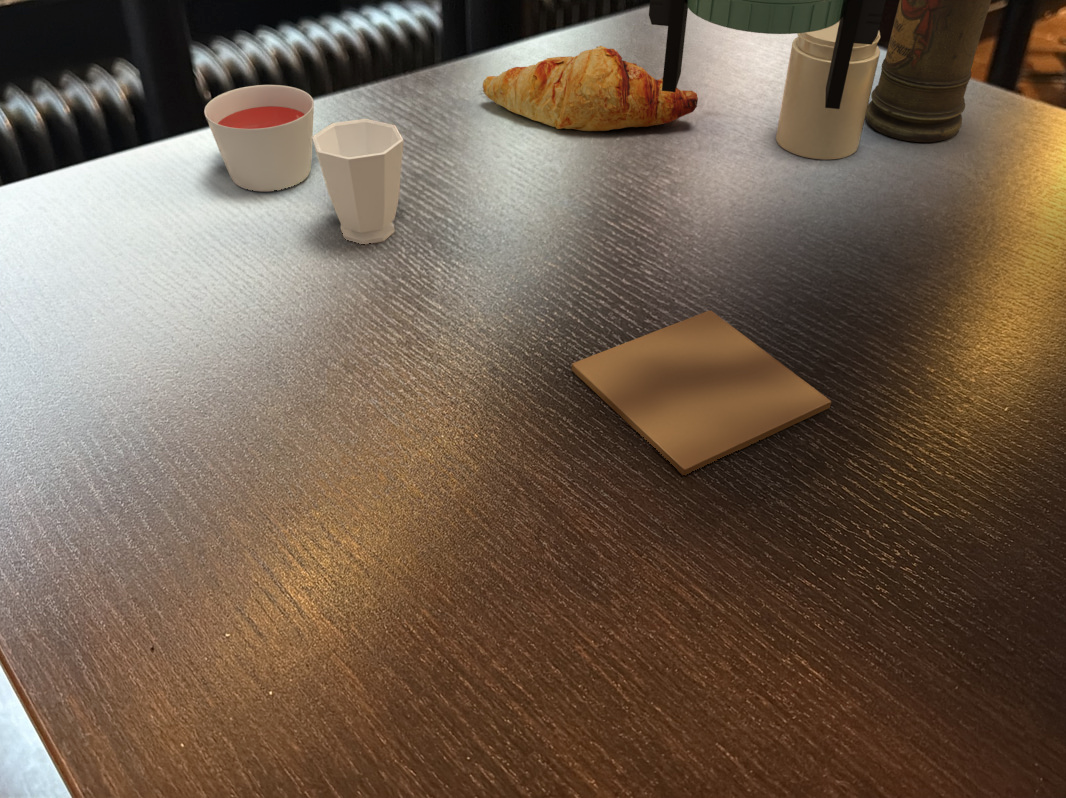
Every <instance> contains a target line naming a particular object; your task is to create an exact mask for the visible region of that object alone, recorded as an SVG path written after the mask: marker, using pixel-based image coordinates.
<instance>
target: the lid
mask: <svg viewBox="0 0 1066 798" xmlns="http://www.w3.org/2000/svg"><path fill="white" fill-rule="evenodd" d="M686 3H687V7H688V10H689V11H690V12H691V13H692V14H694V15H695V16H696V17H698V18H700V19H701V20H704V21H705V22H708V23H711V24H714V25H716V26H720V27H723V28H727V29H732V30H735V31H742V32H746V33H755V34H766V35H793V34H794V35H795V34H798V33H806V32H812V31H818V30H821V29H825V28H828V27H830V26H832V25H834V24H836V23H837V22H839V21H840V20H841V18H842V17H843V15H844V10H845V5H846V0H686Z"/></svg>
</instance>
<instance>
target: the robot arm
mask: <svg viewBox="0 0 1066 798" xmlns="http://www.w3.org/2000/svg"><path fill="white" fill-rule="evenodd" d="M886 2H887V1H886V0H846V5H845V10H844V15H843V17H842V18H841V20H840V22H839V26H838V31H837V36H836V41H835V46H834V51H833V56H832V60H831V65H830V70H829V75H828V80H827V85H826V97H825V108H832V109H840V104H841V100H842V95H843V90H844V86H845V81H846V77H847V72H848V67H849V63H850V58H851V54H852V49H853V45H854V43H858V44H869V45H872V43H873V42H874V40H875V39H876V37H877V36H878V32H879V31H880V26H881V23H882V19H883V14H884V10H885V5H886ZM688 11H689V8H688V7H687V3H686V0H649V6H648V17H649V22H650V24H651V25H652V26H661V27H667V33H666V43H665V53H664V64H663V72H662V79H663V82H662V91H669V92H675V91H676V88H678V84H679V81H680V78H681V75H682V65H683V58H684V57H683V56H684V47H685V38H686V29H687V21H688Z"/></svg>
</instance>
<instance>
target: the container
mask: <svg viewBox="0 0 1066 798" xmlns="http://www.w3.org/2000/svg"><path fill="white" fill-rule="evenodd" d="M991 2H992V0H899V1H898V4H897V5H898V6H897V9H896V14H895V17H894V22H893V26H892V30H891V34H890V39H889V41H888V46H887V49H886V54H885V57H884V59H883V61H882V63H881V71H880V76H879V80H878V82H877V85H876V86H875V87H874V89H873V90H871V94H870V99H871V101H869V103H868V107H867V111H866V116H865V120H866V122H867V123H868V125H869V126H870V127H871V128H872V129H874V131H877V132H878V133H880V134H882V135H884V136H887V137H890V138H893V139H898V140H901V141H905V142H906V141H907V142H915V143H933V142H941V141H945V140H948V139H951V138H953V137H954V136H955V135H956V134H957V133H958V131H959V130H960V129H961V126H962V123H963V116H962V114H963V112H964V111H965V109H966V102H965V101H966V99H965V95H966V91H967V88H968V85H969V84H968V83H970V81H971V79H972V68H973V65H974V60H975V57H976V52H977V49H978V46H979V42H980V39H981V36H982V32H983V30H984V26H985V23H986V19H987V16H988V12H989V8H990V6H991Z"/></svg>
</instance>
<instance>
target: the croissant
mask: <svg viewBox="0 0 1066 798" xmlns="http://www.w3.org/2000/svg"><path fill="white" fill-rule="evenodd" d="M662 82H663V78H659V79H656V78H655V77H653V76H652V75H650V74H649V73H648V71H647V70H646V69H644V68H643V67H642V66H639V65H638V64H637V63H634V62H628V61H626V60H623V57H622V55H620V54H619V52H618V50H616V49H614V48H608V47H605V46H603V45H599V46H596V48H592V49H586V50H583V51H580V53H578V55H575V56H555V57H546V58H545V59H543V60H540V61H538V62H537V63H535V64H531V65H528V66H513V67H511V68H509V69H507V70H505V71H502V72H501V73H499V75H497V76H495V75H491V76H490V75H489V76H486V78H484V79H483V82H482V89H483V90H482V92H483V94H484V95H485V96H486V97H487V99H489V100H492V101H493V102H494V103H495V104H497V105H499V106H501V107H503V108H504V109H506V110H507V111H508V112H512V113H513V114H515V115H520V116H522V117H525V118H527V119H530V120H532V121H534V122H539V123H541V124H544V125H546V126H550V127H553V128H556V130H557V129H558V130H562V129H565V130H578V131H581V132H605V131H606V132H607V131H610V130H621V129H626V128H647V127H652V126H659V125H664V124H670V123H673V122H674V121H676V120H679V119H680V118H682V117H685V116H686V115H689V114H691V113H694V112H695V110H696V109H697V107H698V101H699V99H698V98H699V97H698V94H697V92H695V91H693V90H683V89H682V90H681V89H679V88H678V87H677V88H676V91H675V92H669V91H662Z"/></svg>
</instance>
